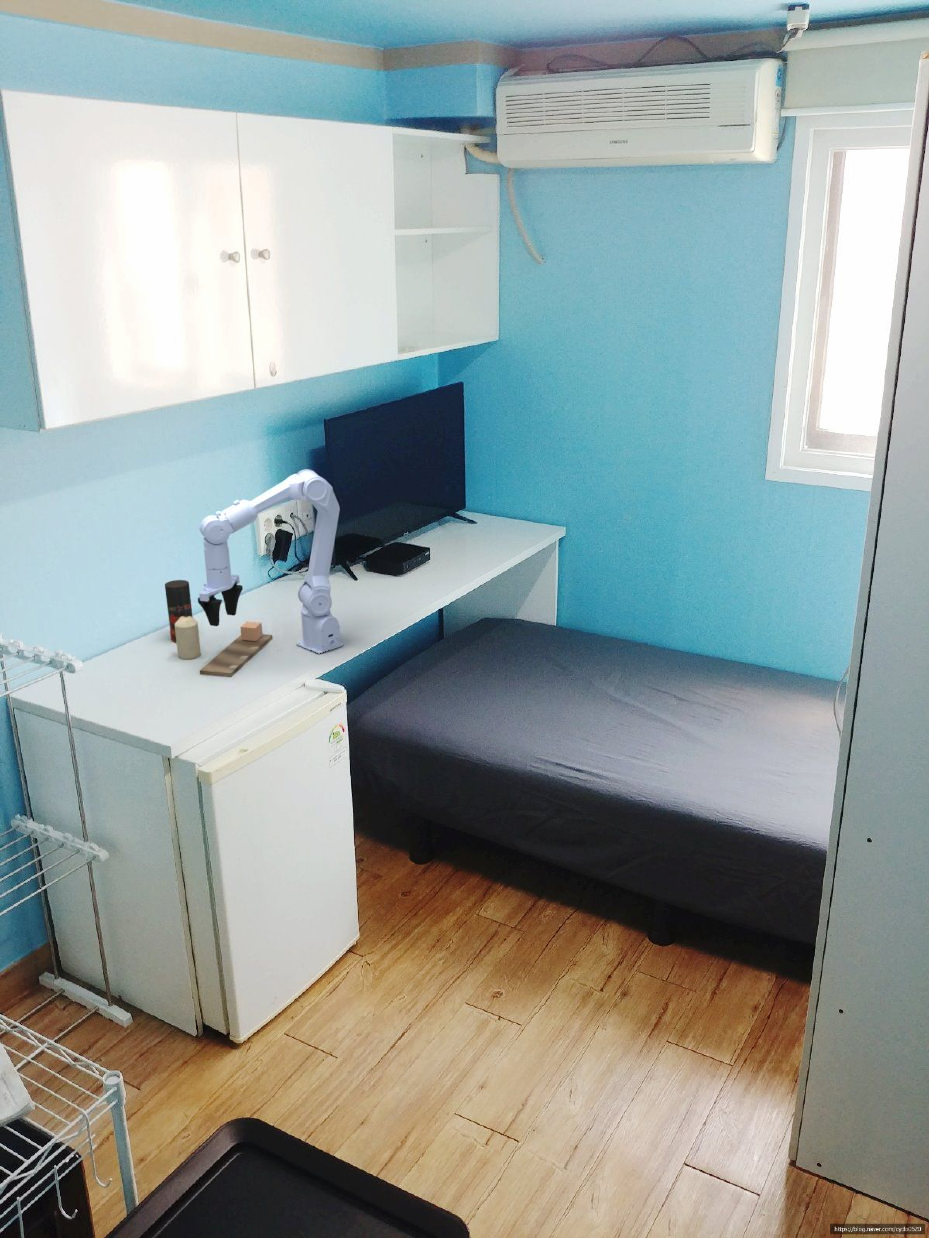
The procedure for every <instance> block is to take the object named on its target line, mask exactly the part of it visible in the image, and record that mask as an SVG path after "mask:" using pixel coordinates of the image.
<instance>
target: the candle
mask: <svg viewBox="0 0 929 1238" xmlns="http://www.w3.org/2000/svg"><path fill="white" fill-rule="evenodd" d="M198 622H199V621H197V620H196V619H195V618H194V617H193V618H192V617H191V616H188V617H183V616H182V617H180V618H179V619H178V621H177V622H176V623H175V633H176V642H177V643H176V649H177V656H178V658H179V659H181V660H194V659H197V658H199V657H200V656H201V654H202V652H201V642H200V633H199V623H198Z"/></svg>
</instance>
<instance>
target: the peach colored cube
mask: <svg viewBox="0 0 929 1238" xmlns="http://www.w3.org/2000/svg"><path fill="white" fill-rule="evenodd" d="M263 634H264V633H263V625H262V622H257V621H245V623H244V624H242V625H241V626H240V635H241V639H242V640H248V641H257V640H258V639H259V638H260V637H261V636H263Z"/></svg>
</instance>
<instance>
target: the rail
mask: <svg viewBox="0 0 929 1238" xmlns="http://www.w3.org/2000/svg"><path fill="white" fill-rule="evenodd" d="M262 634H263V636H261V637H260V638H259V639H258V640H257V641H248V640H242V639H241V634H240V635H239V636H238V637H237V638H235V639H234V640H233V641H232V642H230V644H228V645H227V646H226V647H225V648H224V649H223V650H221V651H220V652H219V653H218V654H217V655H216V656H214V657H213V658H212V659H211V660H210V661H208V662H207V663H206V664H205V665H204V666H203V667H202V668H201V669H199V671H198V672H199V675H203V676H215V677H216V676H217V677H227V678H232V677H234V675H235V674H236V673H237V672H238V671H239V670H241V669H242V668H243V667H244V666H245V665H246V664H247V663H248V662H249V661H250V660H252V659H253V657H255V656H256V655H257V654H258V653H259V652H260V651H261V650H262V649H263V648H265V646H266V645H267V644H268V643H269V642H271V641H272V640H273V634H264V633H262Z"/></svg>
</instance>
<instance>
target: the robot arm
mask: <svg viewBox="0 0 929 1238" xmlns="http://www.w3.org/2000/svg"><path fill="white" fill-rule="evenodd" d="M333 488H334V487H333V486H332V485H331V484H330V483H329V482H328V481H327V480H326V479H325V478H324V477H322V476H320V475H319V474H317V473H316V472H315V470H312V469H302V470H300V471H298V472H297V473H294V474H291V475H290V476H288V477H287V478H286V479H285V480H283V481H282V482H279V483H278V484H276V485H274V486H272V487H271V488H270V489H268V490H267V491H264V493H262V494H260V495H258V496H257V497H255V498H253V499H252V500H247V499H241V500H239V499H236V500H234V501H233V502H232V503H233V505H231V506H229V507H226V508H225V509H223V510H221V511H220V510H218V511H216V512H215V514H214V515H208V516H205V518H203V519H202V520H201V523H200V525H199V526H200V527H199V532H200V533H201V535H202V536H203V546H204V547H203V554H204V564H205V573H206V576H205V577H206V581H205V582H203V587H204V588H203V589H202V590H201V591H200V592H199V594H198V596H199V597H197V603H198V604H199V605H200V607H201V608H202V610H203V612H204V613H205V616H206V618H207V620H208V624H209V626H213V627H219V625H220V610H221V605H222V602H223V603H224V607H225V613H226V615H227V616H232V617H233V616H236V614H237V610H238V603H239V599H240V596H241V594H242V591H243V589H244V588H243V585H241V584H240V575H238V574H232V571H231V569H232V568H231V562H230V561H231V560H230V548H229V544H228V543H229V542H228V540H229V538H230V535H231V534H235V533H236V532H238V531H240V530H241V529H244V528H245V527H247V526H249V525H251V524H252V523H254V522H256V520H257V517H258V515H259V514H260V513H262V512H264V511H266V510H269V509H270V508H272V507H274V506H276V505H278V504H280V503H282V502H284V501H286V500H295V501H296V500H297V501H303V497H304V498H305V499H306V500H307V501H309V502H310V503H311V504H312V506H313V507H314V508H315V509H316V510H317V514H316V519H315V520H316V521H315V526H314V531H313V538H312V543H311V544H312V545H311V553H310V558H309V564H308V569H307V573H306V574H305V575H304V577H303V582H302V584H301V585H300V586H299V589H298V591H297V596H298V600H299V601H300V603H301V604H302V607H301V609H300V613H301V616H300V617H301V626H302V627H301V629H302V631H301V632H302V640H300V641H297V642H296V646H298V647H301V648H303V649H305V648H306V650H308V651H310V650H312V651H311V652H313V651H314V652H313V653H315V652H316V654H317V653H318V655H320V653H321V654H324V653H326V652H329V651H332V650H335V649H337V648H340V647H343V646H344V643H342V642H341V633H340V631H341V629H340V623H339V619H337V618H336V617H335V616H333V614H332V613H331V608H332V605H333V601H332V597H331V583H330V579H329V576H330V570H331V564H332V558H333V552H334V547H335V539H336V533H337V528H338V521H339V515H340V511H341V509H340V505H339V502H338V500H337V497H336V494H335V492H334V489H333ZM220 593H221V595H222V598H223V600H222V599H218V598H217V597H216V596H217V595H218V594H220ZM328 650H329V651H328ZM325 651H326V652H325ZM323 652H324V653H323Z"/></svg>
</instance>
